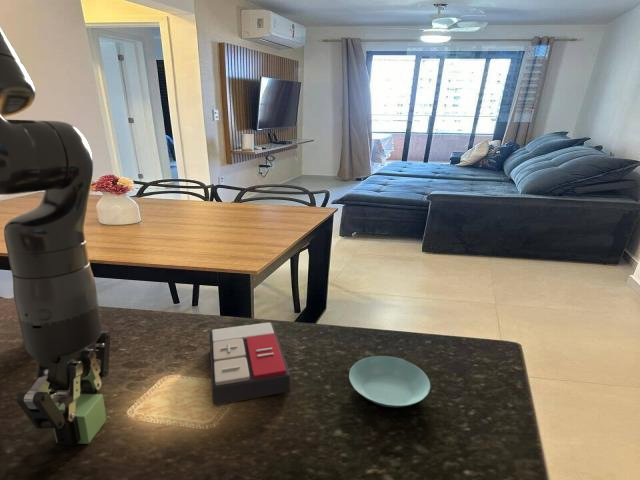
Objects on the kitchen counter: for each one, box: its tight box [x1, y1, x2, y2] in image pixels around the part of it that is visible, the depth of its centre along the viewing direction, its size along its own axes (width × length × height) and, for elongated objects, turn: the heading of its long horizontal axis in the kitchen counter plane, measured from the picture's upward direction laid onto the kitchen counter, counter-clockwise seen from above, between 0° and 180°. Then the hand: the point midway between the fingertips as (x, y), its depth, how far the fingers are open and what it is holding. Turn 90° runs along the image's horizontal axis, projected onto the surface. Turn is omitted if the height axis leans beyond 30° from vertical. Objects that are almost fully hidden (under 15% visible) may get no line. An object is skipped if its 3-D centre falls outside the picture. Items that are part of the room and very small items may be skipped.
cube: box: [52, 393, 107, 445], centre depth 47 cm, size 4×4×4 cm
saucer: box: [348, 355, 431, 408], centre depth 57 cm, size 12×12×2 cm
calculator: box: [209, 322, 291, 406], centre depth 60 cm, size 11×4×15 cm
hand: (81, 428), depth 48 cm, fingers closed on cube, 4 cm apart
